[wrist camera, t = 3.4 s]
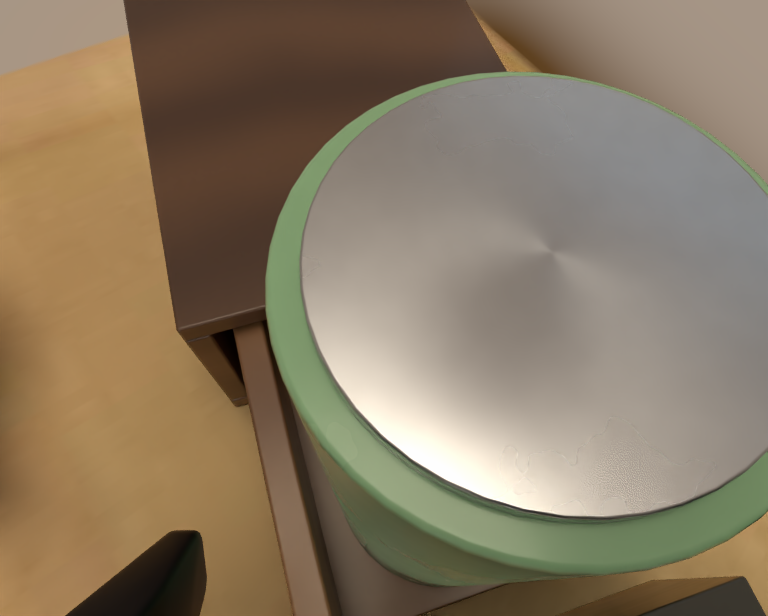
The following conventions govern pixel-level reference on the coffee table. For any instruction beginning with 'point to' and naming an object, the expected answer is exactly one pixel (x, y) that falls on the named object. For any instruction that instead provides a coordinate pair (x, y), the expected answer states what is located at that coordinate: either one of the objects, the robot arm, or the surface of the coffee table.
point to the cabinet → (265, 127)
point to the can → (528, 330)
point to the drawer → (356, 567)
